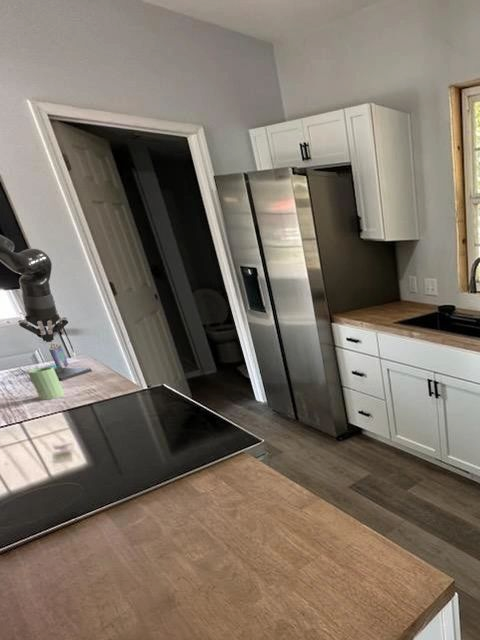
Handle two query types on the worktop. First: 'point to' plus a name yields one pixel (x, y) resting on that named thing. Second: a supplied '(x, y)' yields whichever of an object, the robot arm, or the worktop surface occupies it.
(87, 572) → the worktop surface
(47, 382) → the cup
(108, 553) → the worktop surface
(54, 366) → the tare button
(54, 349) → the french fries carton
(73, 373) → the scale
